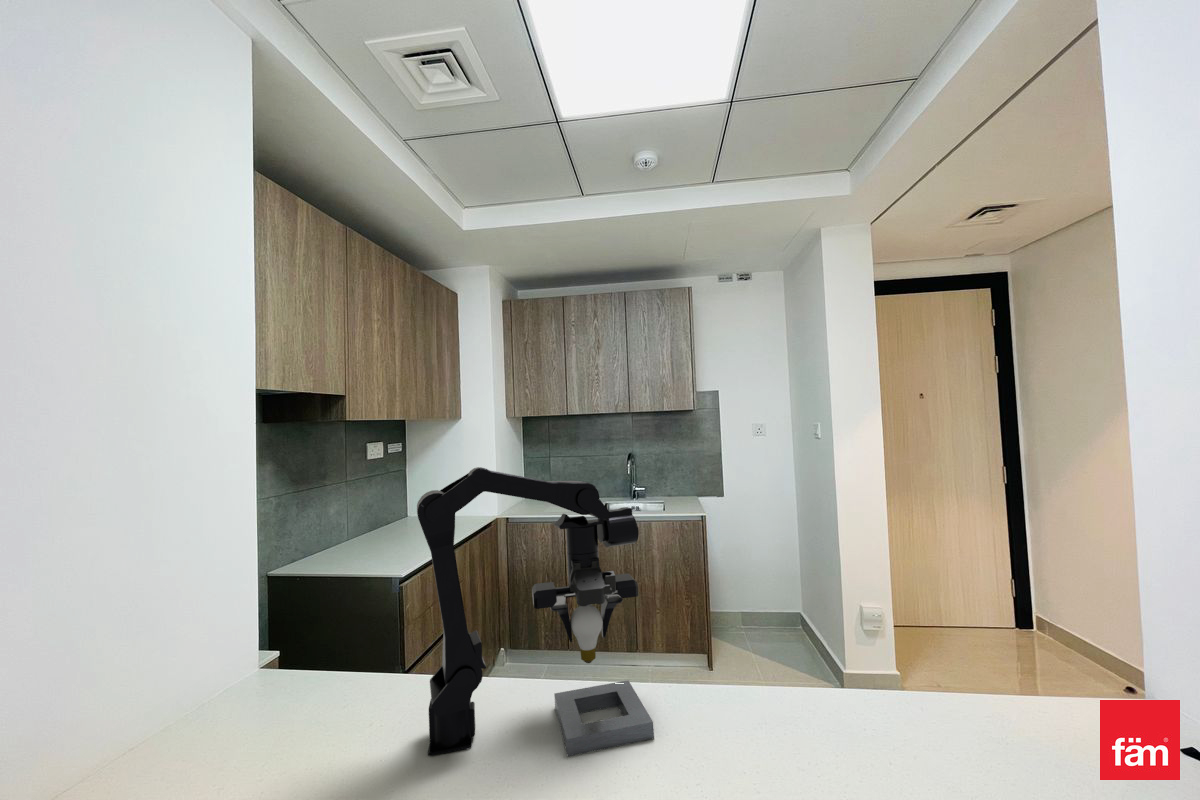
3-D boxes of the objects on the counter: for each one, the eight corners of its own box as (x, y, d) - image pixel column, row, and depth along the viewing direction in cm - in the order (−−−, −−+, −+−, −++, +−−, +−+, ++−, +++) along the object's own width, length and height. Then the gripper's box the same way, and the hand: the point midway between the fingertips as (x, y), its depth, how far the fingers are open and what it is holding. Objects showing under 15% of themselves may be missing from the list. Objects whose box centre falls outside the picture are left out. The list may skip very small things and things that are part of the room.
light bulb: (604, 669, 84) (600, 610, 84) (570, 671, 84) (567, 611, 85) (605, 654, 90) (602, 599, 90) (574, 655, 90) (571, 600, 91)
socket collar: (567, 756, 72) (566, 739, 72) (555, 708, 85) (554, 693, 85) (654, 738, 75) (653, 721, 75) (629, 694, 88) (628, 680, 88)
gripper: (534, 567, 79) (538, 667, 77) (644, 555, 82) (650, 650, 81) (530, 552, 89) (533, 639, 88) (627, 542, 93) (632, 626, 92)
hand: (587, 639), depth 87 cm, fingers closed on light bulb, 6 cm apart
